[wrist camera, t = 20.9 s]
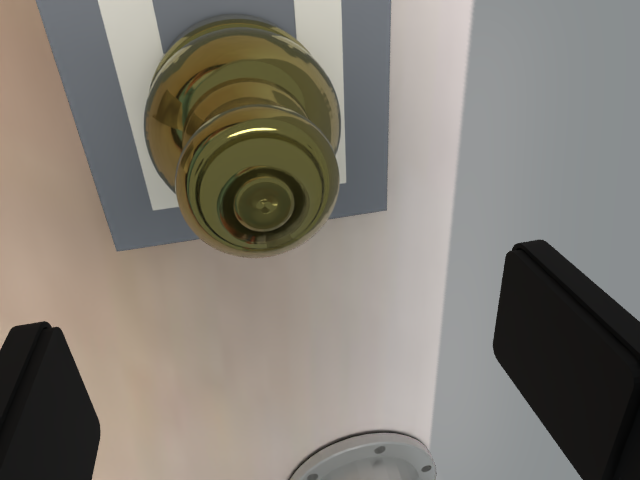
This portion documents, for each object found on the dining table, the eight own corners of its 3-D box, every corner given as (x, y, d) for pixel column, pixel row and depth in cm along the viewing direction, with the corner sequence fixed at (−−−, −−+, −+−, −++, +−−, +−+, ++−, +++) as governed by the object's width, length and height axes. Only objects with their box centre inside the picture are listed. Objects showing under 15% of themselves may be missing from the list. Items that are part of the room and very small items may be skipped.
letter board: (379, 200, 28) (386, 210, 27) (119, 239, 26) (116, 252, 25) (383, -103, 21) (393, -104, 20) (19, -81, 19) (9, -81, 18)
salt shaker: (347, 54, 23) (435, 132, 14) (281, 196, 26) (324, 329, 17) (182, -23, 20) (174, 20, 12) (130, 147, 23) (95, 278, 15)
